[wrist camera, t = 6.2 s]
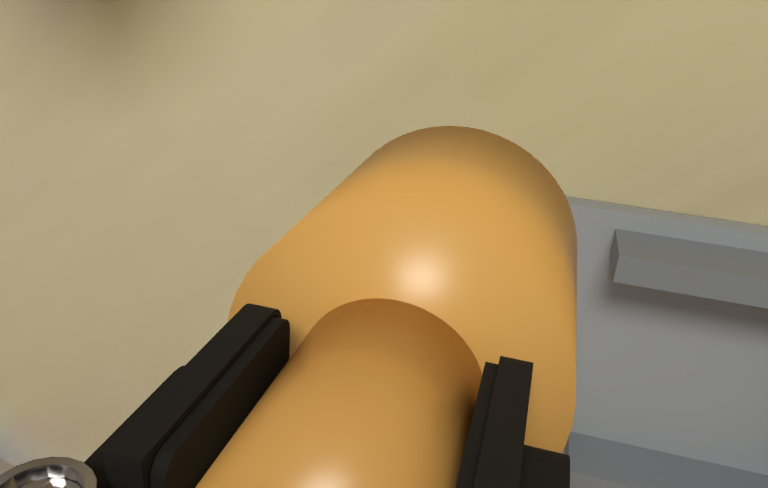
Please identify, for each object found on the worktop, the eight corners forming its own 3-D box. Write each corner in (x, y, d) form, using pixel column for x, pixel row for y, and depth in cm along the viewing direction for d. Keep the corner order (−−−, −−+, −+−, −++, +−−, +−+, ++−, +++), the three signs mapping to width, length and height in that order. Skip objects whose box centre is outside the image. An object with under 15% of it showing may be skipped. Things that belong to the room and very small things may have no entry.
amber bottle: (601, 145, 16) (636, 451, 6) (552, 371, 18) (520, 843, 8) (343, 109, 17) (23, 310, 7) (332, 324, 20) (86, 685, 10)
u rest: (948, 253, 27) (1004, 297, 24) (830, 510, 33) (861, 577, 29) (550, 194, 30) (546, 224, 27) (506, 436, 36) (498, 488, 33)
